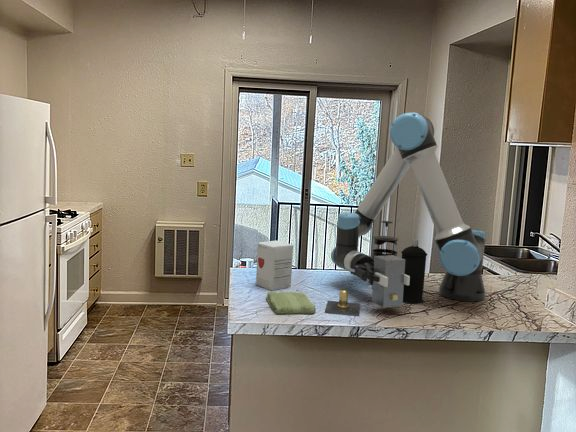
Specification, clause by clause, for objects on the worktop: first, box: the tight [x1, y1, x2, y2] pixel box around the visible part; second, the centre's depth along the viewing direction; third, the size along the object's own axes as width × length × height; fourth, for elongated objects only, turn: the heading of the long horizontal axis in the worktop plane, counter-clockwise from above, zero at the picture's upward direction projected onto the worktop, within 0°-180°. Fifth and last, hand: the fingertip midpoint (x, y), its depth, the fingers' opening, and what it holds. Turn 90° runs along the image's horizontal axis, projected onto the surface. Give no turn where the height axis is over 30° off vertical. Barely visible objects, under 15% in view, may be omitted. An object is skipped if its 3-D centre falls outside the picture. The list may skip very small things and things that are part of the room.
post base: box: [324, 289, 361, 317], centre depth 163 cm, size 10×10×6 cm
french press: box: [369, 220, 399, 286], centre depth 195 cm, size 12×9×23 cm
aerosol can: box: [400, 239, 428, 305], centre depth 175 cm, size 8×8×20 cm
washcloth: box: [265, 291, 317, 315], centre depth 164 cm, size 13×18×3 cm
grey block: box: [371, 255, 405, 308], centre depth 162 cm, size 9×7×14 cm
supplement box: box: [255, 240, 294, 292], centre depth 185 cm, size 9×9×15 cm
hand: (397, 281), depth 157 cm, fingers closed on grey block, 7 cm apart
